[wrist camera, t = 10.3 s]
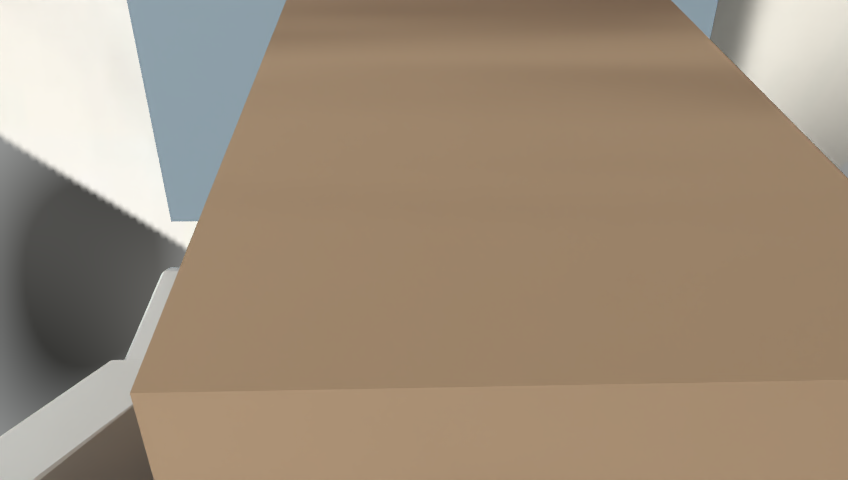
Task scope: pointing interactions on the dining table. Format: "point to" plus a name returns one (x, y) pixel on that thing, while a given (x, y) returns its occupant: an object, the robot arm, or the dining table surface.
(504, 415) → the walnut block
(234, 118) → the keyed board
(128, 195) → the dining table surface
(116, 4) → the dining table surface
